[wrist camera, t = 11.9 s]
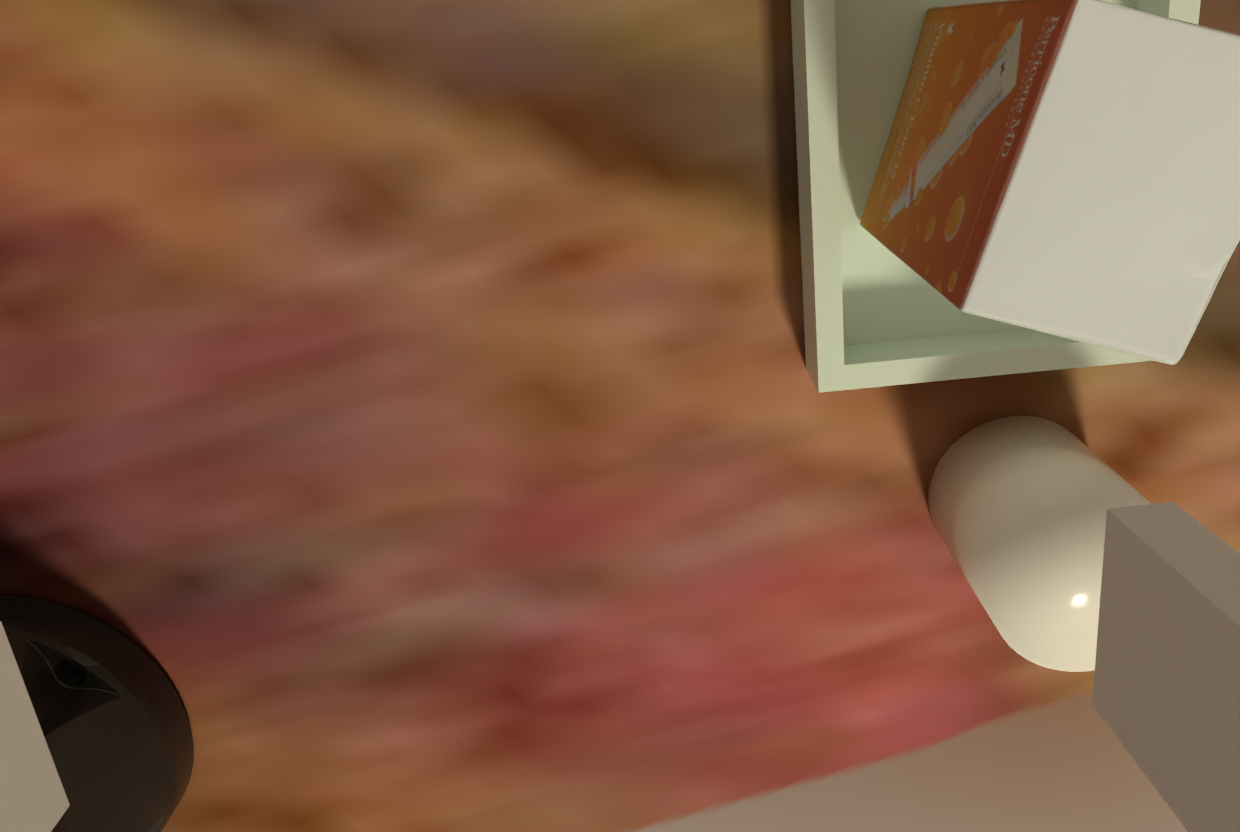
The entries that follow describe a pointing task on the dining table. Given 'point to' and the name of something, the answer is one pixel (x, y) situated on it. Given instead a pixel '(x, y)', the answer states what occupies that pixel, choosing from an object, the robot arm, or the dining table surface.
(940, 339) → the tray
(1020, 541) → the cream capsule cylinder
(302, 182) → the dining table surface
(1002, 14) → the small box
